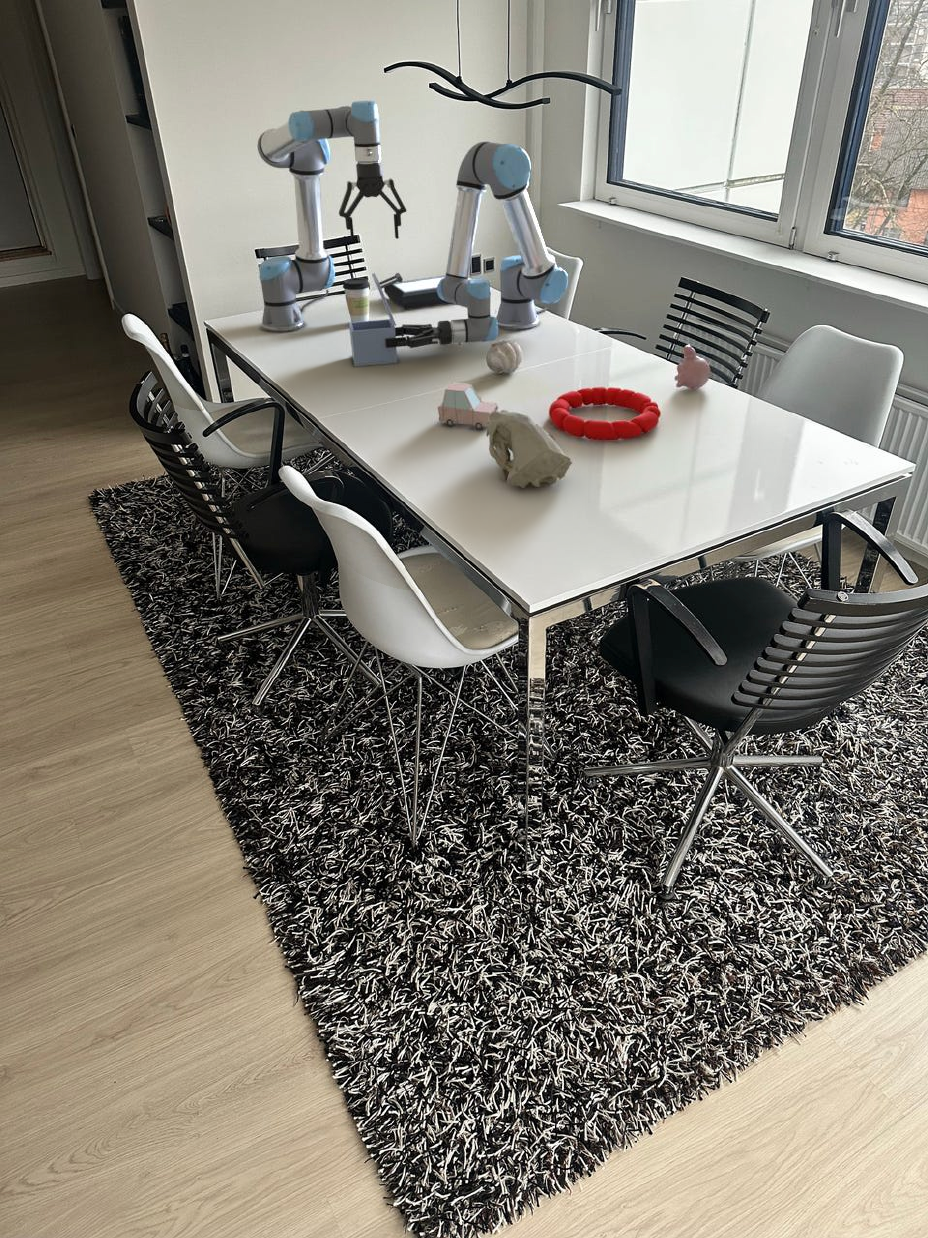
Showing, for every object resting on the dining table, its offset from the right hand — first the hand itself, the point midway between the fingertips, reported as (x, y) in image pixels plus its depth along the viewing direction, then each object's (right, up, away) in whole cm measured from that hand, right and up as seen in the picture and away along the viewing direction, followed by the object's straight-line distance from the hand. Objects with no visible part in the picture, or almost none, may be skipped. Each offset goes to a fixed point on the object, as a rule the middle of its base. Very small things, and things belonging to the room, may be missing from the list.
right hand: (383, 337), depth 290 cm
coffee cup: (-12, +17, +37) cm, 43 cm away
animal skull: (+40, -55, -69) cm, 97 cm away
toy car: (+27, -37, -44) cm, 64 cm away
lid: (0, +10, -7) cm, 12 cm away
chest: (-3, -6, +3) cm, 8 cm away
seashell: (+39, -14, -11) cm, 43 cm away
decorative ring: (+64, -38, -46) cm, 88 cm away
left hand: (-1, +25, -17) cm, 30 cm away
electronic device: (+13, +34, +61) cm, 71 cm away
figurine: (+93, -24, -27) cm, 100 cm away
